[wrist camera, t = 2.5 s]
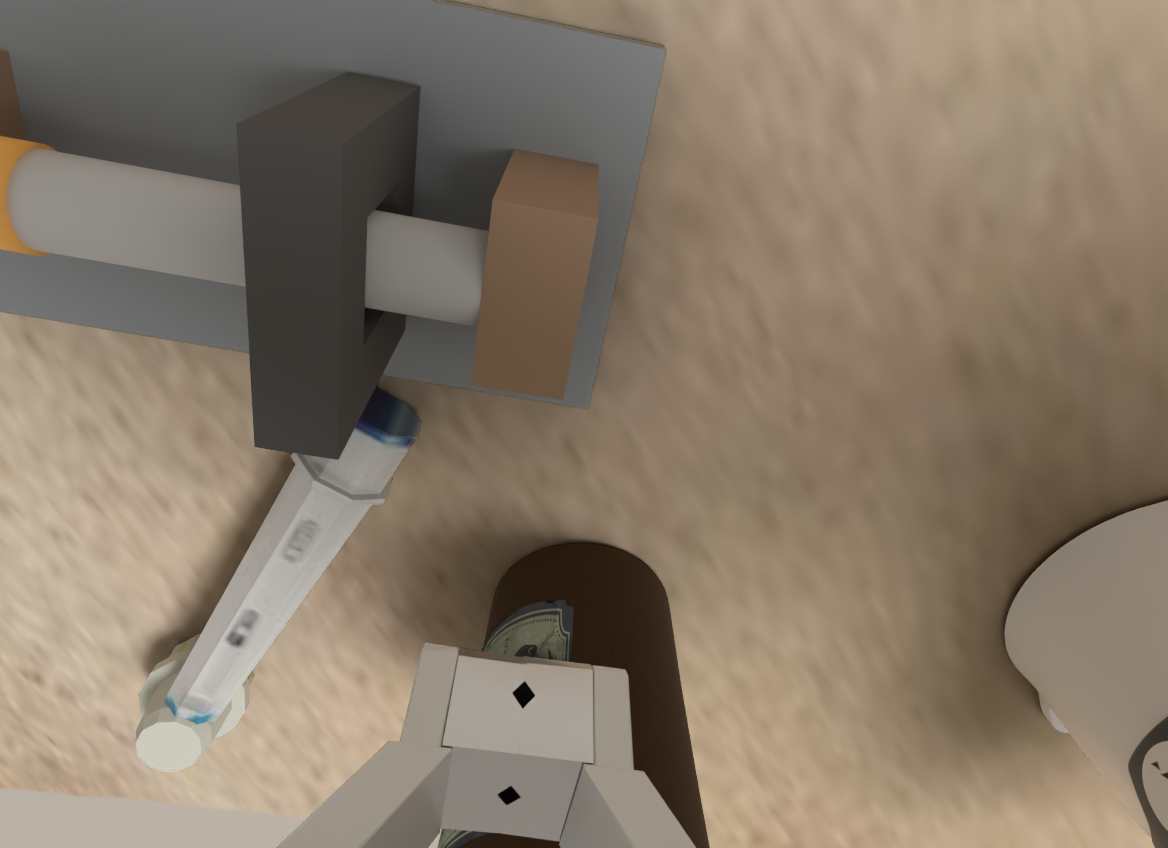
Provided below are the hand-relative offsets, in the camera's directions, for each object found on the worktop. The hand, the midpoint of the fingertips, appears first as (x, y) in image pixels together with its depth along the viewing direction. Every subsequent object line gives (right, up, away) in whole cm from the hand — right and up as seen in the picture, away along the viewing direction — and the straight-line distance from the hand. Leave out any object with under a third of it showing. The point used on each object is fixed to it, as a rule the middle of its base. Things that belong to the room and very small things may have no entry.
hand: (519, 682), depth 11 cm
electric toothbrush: (-15, -3, +28) cm, 32 cm away
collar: (-6, +11, +16) cm, 21 cm away
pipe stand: (-10, +13, +17) cm, 24 cm away
